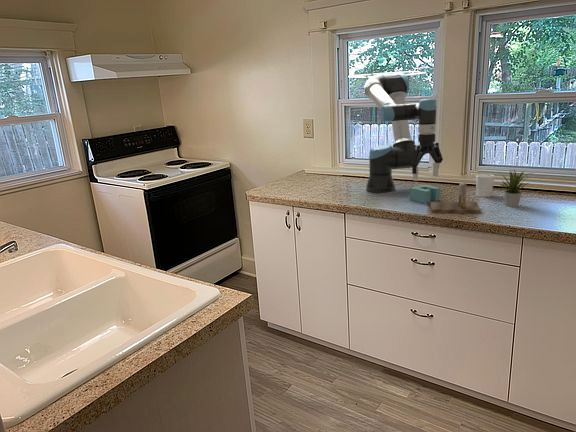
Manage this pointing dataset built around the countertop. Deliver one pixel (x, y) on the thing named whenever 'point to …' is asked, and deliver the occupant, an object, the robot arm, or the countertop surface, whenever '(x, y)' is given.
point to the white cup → (484, 185)
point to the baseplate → (456, 204)
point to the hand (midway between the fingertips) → (425, 178)
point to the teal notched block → (424, 193)
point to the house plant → (513, 189)
